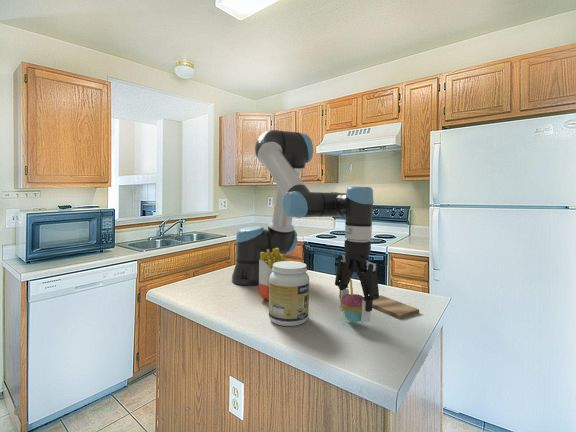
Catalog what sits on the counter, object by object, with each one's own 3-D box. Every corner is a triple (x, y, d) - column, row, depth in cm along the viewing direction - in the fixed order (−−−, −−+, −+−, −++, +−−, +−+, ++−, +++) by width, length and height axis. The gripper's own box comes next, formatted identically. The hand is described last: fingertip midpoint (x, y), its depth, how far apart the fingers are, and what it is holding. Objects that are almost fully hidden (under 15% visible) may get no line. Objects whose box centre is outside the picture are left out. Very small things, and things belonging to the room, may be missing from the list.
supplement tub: (303, 330, 87) (304, 270, 86) (262, 324, 90) (263, 267, 89) (311, 314, 99) (313, 261, 97) (275, 309, 102) (276, 258, 101)
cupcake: (334, 318, 91) (335, 278, 90) (349, 310, 97) (351, 273, 96) (359, 327, 85) (361, 285, 84) (374, 318, 92) (376, 279, 91)
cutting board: (361, 303, 109) (361, 299, 109) (380, 298, 115) (380, 295, 115) (399, 319, 96) (399, 315, 96) (419, 312, 101) (419, 309, 101)
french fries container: (288, 296, 115) (289, 248, 113) (267, 304, 107) (268, 252, 105) (279, 293, 118) (280, 247, 116) (258, 300, 110) (259, 250, 108)
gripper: (324, 235, 96) (322, 306, 98) (377, 247, 79) (372, 332, 80) (342, 234, 100) (340, 302, 102) (396, 244, 83) (391, 326, 84)
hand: (354, 315), depth 91 cm, fingers closed on cupcake, 8 cm apart
